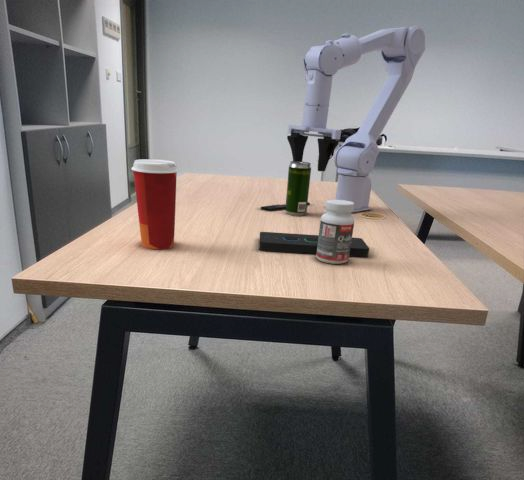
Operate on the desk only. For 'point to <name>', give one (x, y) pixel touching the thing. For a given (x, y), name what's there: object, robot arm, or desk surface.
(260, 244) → the smart home device
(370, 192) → the robot arm
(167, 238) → the paper cup
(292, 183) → the beer can
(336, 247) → the pill bottle
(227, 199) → the desk surface
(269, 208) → the fork
